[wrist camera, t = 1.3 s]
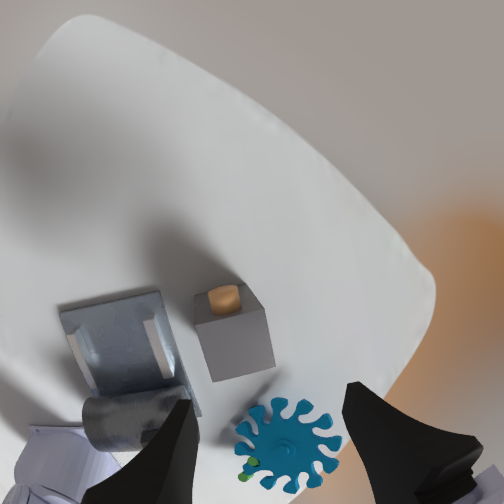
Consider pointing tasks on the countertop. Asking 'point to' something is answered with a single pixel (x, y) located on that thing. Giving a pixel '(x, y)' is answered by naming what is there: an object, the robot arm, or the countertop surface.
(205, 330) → the grey knobbed block
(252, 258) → the countertop surface
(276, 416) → the gear
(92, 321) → the motor mount
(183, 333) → the countertop surface
